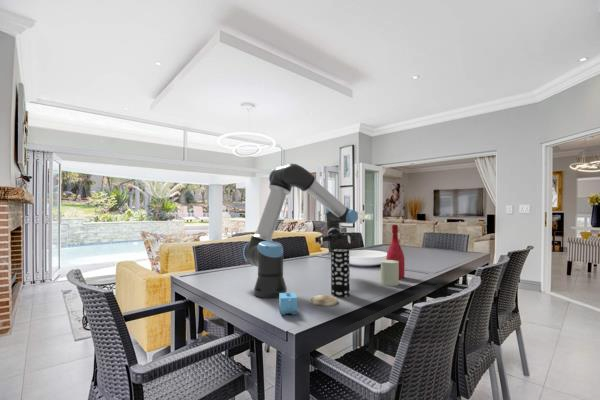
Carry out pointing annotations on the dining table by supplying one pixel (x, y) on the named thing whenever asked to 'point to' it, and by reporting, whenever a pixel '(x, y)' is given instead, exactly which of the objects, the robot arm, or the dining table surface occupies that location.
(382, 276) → the can
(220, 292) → the dining table surface
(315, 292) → the dining table surface
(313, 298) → the birch coaster
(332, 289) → the white-spotted black cylinder
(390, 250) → the wine bottle
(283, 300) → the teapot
